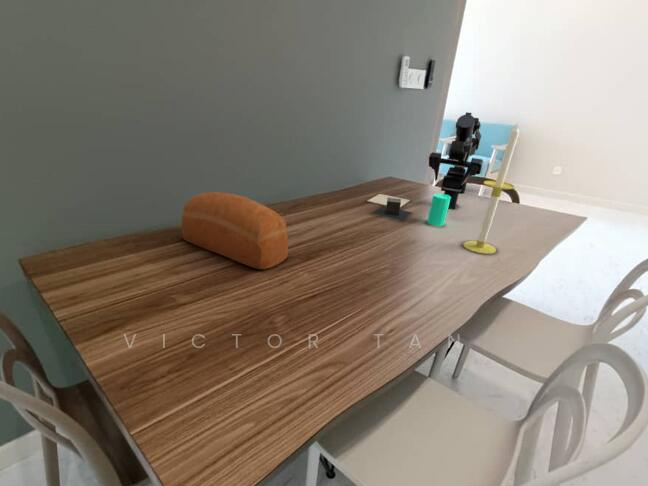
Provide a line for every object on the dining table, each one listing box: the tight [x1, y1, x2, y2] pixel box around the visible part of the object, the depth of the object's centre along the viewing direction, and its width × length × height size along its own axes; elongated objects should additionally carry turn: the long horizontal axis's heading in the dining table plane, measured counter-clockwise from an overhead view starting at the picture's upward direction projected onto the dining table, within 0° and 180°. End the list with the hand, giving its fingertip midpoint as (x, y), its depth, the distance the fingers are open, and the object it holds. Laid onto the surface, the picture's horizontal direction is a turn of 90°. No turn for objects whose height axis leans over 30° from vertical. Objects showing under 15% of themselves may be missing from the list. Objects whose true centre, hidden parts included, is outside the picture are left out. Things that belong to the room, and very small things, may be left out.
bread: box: [181, 191, 289, 270], centre depth 111 cm, size 14×33×16 cm, turn 54°
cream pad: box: [367, 193, 411, 208], centre depth 165 cm, size 14×14×1 cm
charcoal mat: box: [371, 205, 413, 221], centre depth 151 cm, size 12×12×1 cm
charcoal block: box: [385, 198, 401, 216], centre depth 150 cm, size 5×5×5 cm
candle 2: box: [462, 120, 520, 255], centre depth 117 cm, size 10×10×38 cm
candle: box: [426, 192, 451, 227], centre depth 141 cm, size 6×6×12 cm
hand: (448, 182), depth 143 cm, fingers open, 9 cm apart
